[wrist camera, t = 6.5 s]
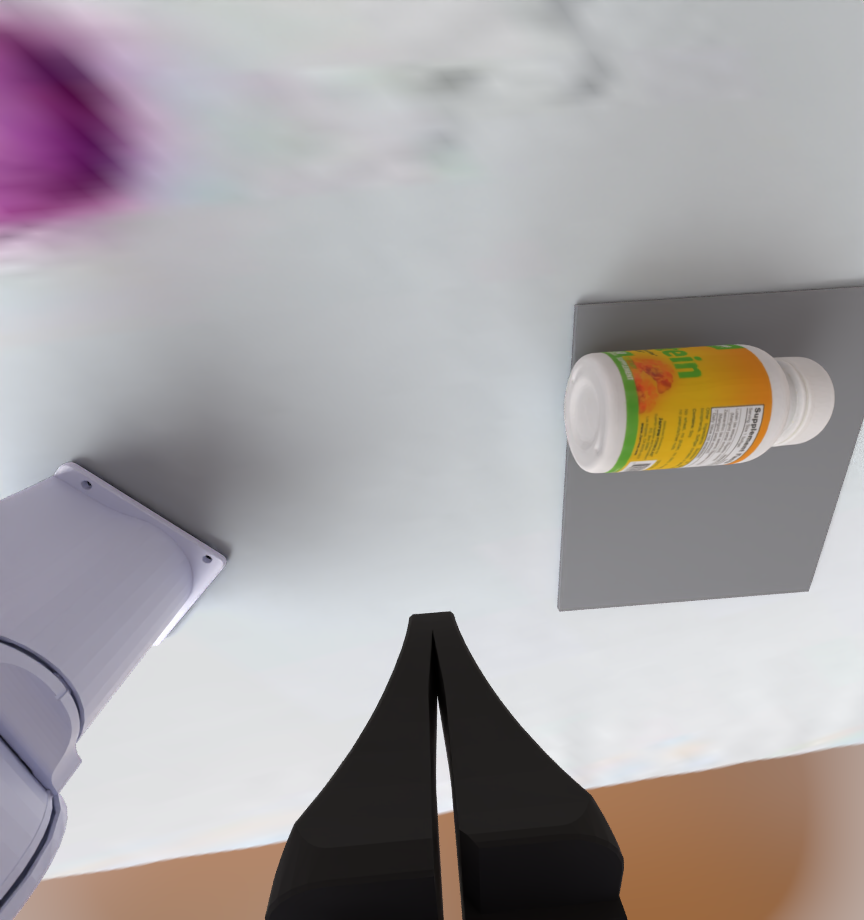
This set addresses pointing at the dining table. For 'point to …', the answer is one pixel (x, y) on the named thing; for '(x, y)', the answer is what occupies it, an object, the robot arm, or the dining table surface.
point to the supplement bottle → (691, 406)
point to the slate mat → (721, 486)
